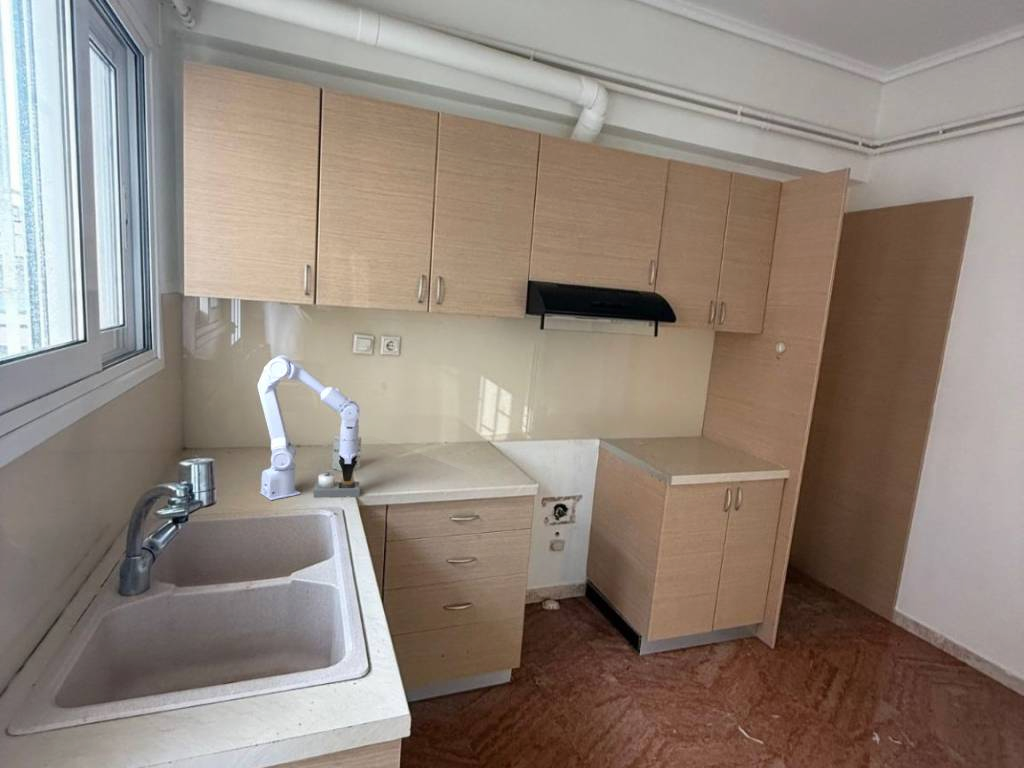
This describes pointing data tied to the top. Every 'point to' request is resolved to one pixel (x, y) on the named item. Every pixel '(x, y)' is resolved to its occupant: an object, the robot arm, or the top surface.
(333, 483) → the tray
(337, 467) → the supplement box
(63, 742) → the top surface
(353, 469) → the small orange jar
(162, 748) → the top surface
